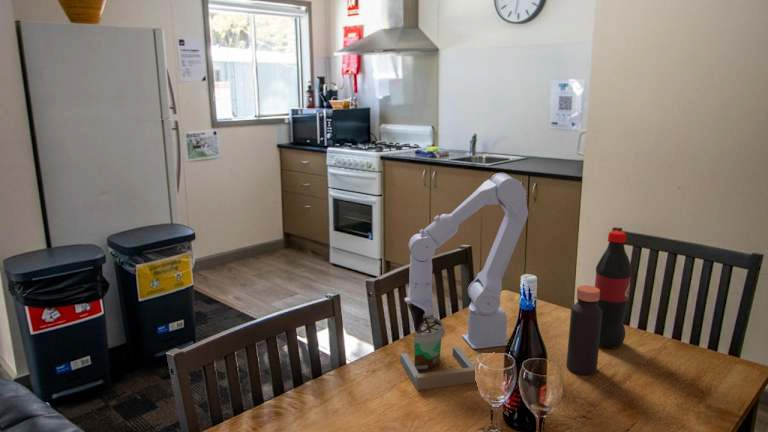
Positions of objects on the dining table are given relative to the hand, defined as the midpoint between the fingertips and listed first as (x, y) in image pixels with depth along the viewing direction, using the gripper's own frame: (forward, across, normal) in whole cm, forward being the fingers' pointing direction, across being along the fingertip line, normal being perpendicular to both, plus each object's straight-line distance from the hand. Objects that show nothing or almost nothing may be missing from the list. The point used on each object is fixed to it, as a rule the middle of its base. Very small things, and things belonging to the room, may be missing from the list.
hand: (419, 331), depth 143 cm
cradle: (+3, +14, 0) cm, 14 cm away
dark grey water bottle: (+4, +22, +33) cm, 40 cm away
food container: (+4, +11, -1) cm, 12 cm away
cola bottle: (+4, +12, +47) cm, 49 cm away
